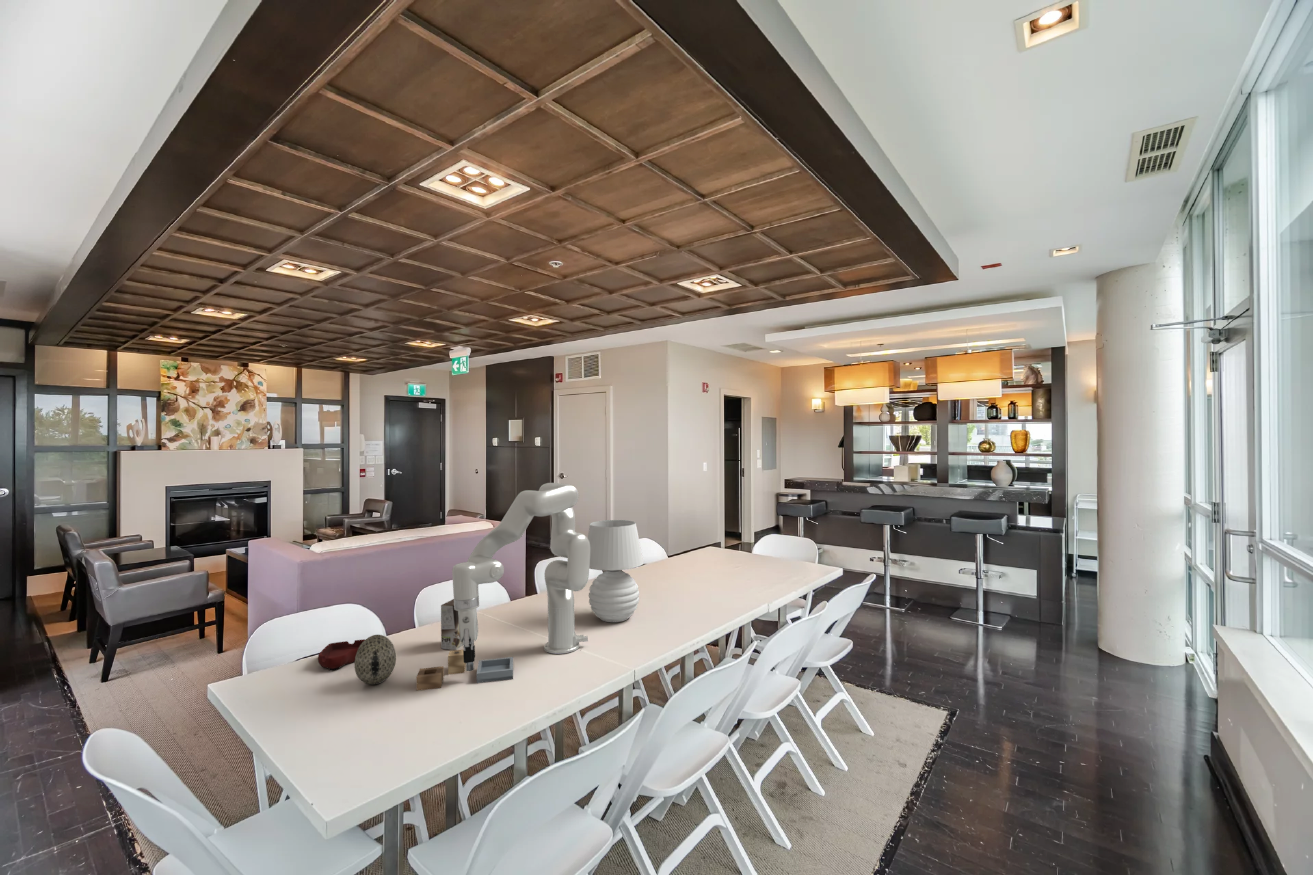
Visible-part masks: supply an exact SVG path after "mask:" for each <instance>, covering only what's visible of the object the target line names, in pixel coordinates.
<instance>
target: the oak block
mask: <svg viewBox="0 0 1313 875" xmlns="http://www.w3.org/2000/svg"><path fill="white" fill-rule="evenodd" d="M463 650H464V648H463V649H457V650H449V651H448V654H447V674H448V675H457V674H465V671H466V663H464V657H463Z"/></svg>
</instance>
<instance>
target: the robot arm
mask: <svg viewBox="0 0 1313 875" xmlns="http://www.w3.org/2000/svg"><path fill="white" fill-rule="evenodd" d="M579 498H580V494H579V490H578V489H577V487H575V486H574V485H572V484H569V483H559V482H558V483H557V482H547V483H544V484H542V485H541V486H540V487H539V489H538V490H531V489H530V490H528V489H527V490H523V491H520V492H519V493H518V494H517V496H516V497H515V498H514V500H513V502H512V503H511V505H510V507H509V508H508V510H507V512H506V513H505V515H504V516H503V518H502V520H501V521H500V523H499V524H498V526H496V527H495V528H493V529H492V530H491V531H490V532H489V533H488V534H486V535H485V536H484V537H483V538H482V539H480V541H479V542H478V543H477V544H476V546H475V547H474V549H473V550H472V552H471V554H470V555H469V557H468V559H467V562H465V561H464V562H460V563H456V564H455V565H453V567H452V569H451V570H452V572H451V573H452V574H451V575H452V590H453V594H452V595H453V599H454V609H455V610H456V611H458V617H459V633H460V641H461V642H462V643H463V646H462V647H463V649H464V650H463V649H462V650H463V657H464V663H469V662H473V663H475V660H476V659H475V658H476V645H475V642H476V641H477V640H478V636H479V624H478V610H477V609H478V607H480V600H479V599H480V593H479V585H482V584H492V583H496V582H498V581H499V580H500V579H501V578H502V577H503V575H504V573H505V566H504V564H503V563H502V562H501V561H499V560H498V559H496V558H493V556H494V555H495V554H496V553H497V552H498V551H499V550H500V549H502V548H503V547H506V546H507V545H509V544H512V543H514V542H517V541H518V540H520V539H521V538H522V537H523V536H524V534H525V532H526V530H527V528H528V526H529V524H530V523H531V522H532V520H533V519H534V517H547V516H551V531H550V532H551V533H550V534H551V536H550V551H551V553H552V554H553V555H555V556H557V557H560V558H564V559H567V561H566V560H563V559H561V560H560V559H555V560H552V561H551V562H548V564H547V565H546V567H545V569H544V582H545V586H546V588H545V589H546V593H547V594H546V595H547V596H546V597H547V633H548V634H547V635H548V636H547V639H548V640H547V642H546V643H544V646H543V649H544V651H545V652H547V653H549V654H556V655H560V654H561V655H562V654H563V655H564V654H569V653H572V652H575V651H576V650H578V649H579V648H580V642H588V641H589V640H588V635H584V634H580V635H579V634H577V633H576V631H575V630H576V628H575V596H574V594H575V593H574V592H580V591H582V590H583V589H585V587H586V586H587V583H588V582H589V576H590V569H589V566H590V543H589V540H588V536H587V535H585V534H584V533H581V532H576V513H575V510H574V506H575V505H576V504H577V503H578V502H579ZM470 638H471V639H470ZM469 642H471V644H470V643H469Z"/></svg>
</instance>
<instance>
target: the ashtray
mask: <svg viewBox="0 0 1313 875" xmlns="http://www.w3.org/2000/svg"><path fill="white" fill-rule="evenodd" d="M365 640H366V638H364V639H356V640H354V641H353V643H350V642H349V641H348V640H345V641H337V642H331V643H330V642H329V643H328V644H327V645H326V646H325V647H324V648H323V649H322V650H321V651H320V652H319V653H318V655H317V660H318V663H319V666H321V667H322V668H325V669H329V671H330V672H331V671H332V672H333V671H338V670H339V669H340V668H341V667H344V666H345V665H350V664H353V663H355V657H356V653H357V651H358V649H359V647H360V645H361V644H362V643H363V642H364V641H365Z"/></svg>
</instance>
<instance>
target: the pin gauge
mask: <svg viewBox="0 0 1313 875" xmlns="http://www.w3.org/2000/svg"><path fill="white" fill-rule="evenodd" d="M470 639H471V638H470ZM469 643H470V644H471V642H469ZM474 663H475V662H469V663H466V668H465V671H467V672H472V671H475V670H474V669H475V668H474V667H475V666H474Z"/></svg>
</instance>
